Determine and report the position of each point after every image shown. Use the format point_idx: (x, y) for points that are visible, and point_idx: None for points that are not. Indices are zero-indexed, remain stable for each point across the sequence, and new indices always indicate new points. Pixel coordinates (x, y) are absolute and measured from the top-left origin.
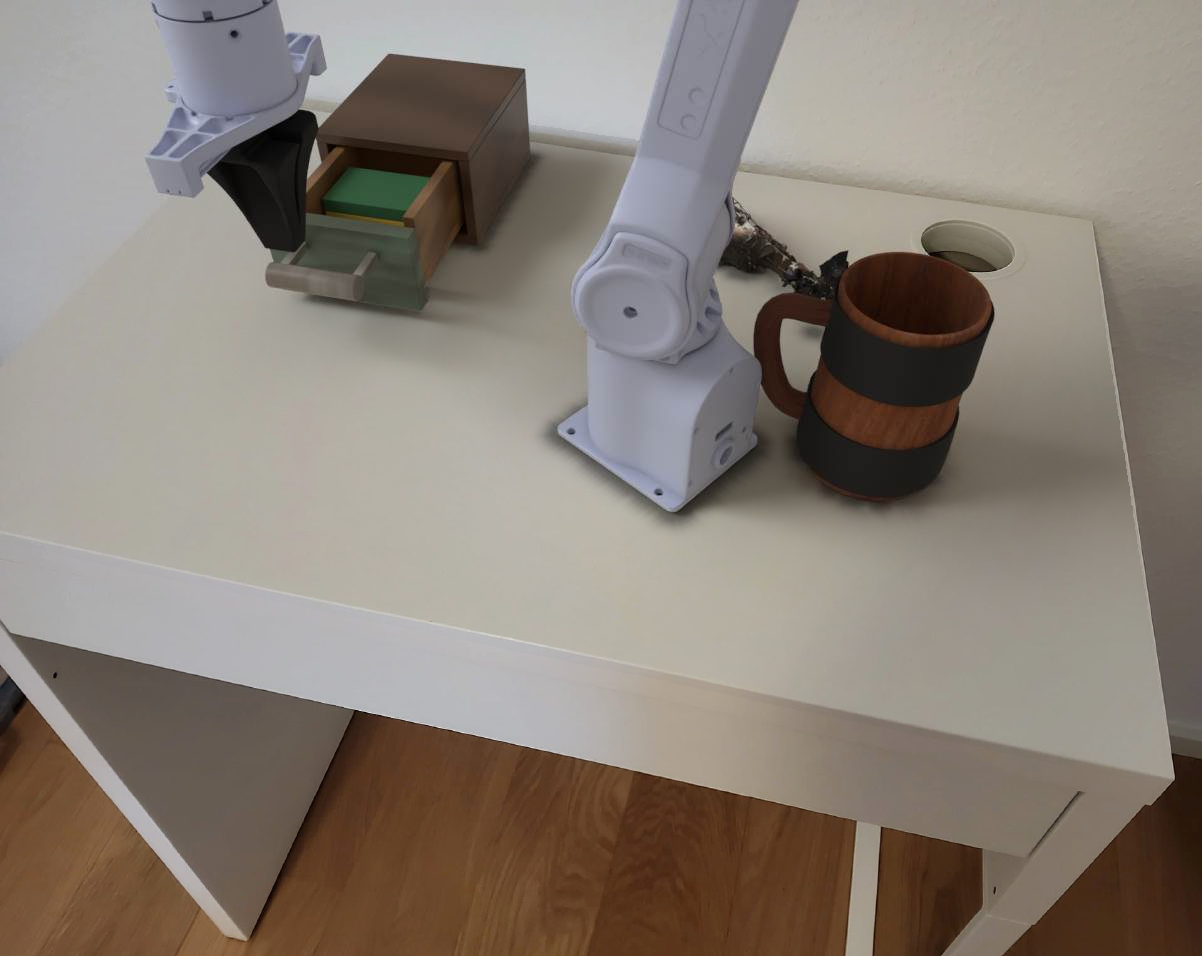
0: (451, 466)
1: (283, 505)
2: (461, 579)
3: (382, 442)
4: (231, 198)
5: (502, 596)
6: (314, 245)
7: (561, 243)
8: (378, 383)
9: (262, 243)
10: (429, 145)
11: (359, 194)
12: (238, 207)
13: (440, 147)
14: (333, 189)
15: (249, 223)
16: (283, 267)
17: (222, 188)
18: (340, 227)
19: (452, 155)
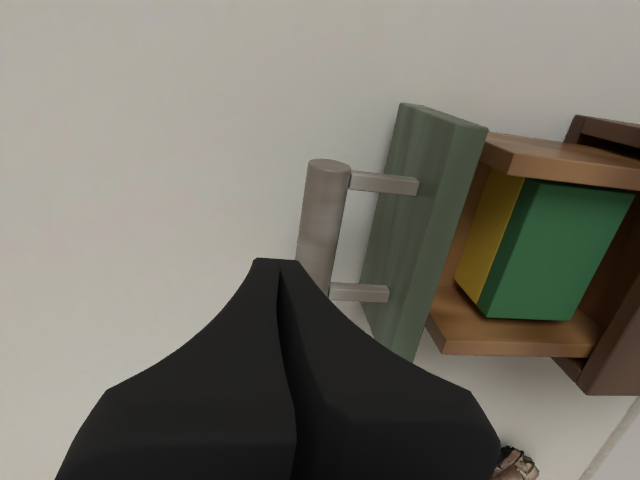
0: (137, 364)
1: (16, 236)
2: (6, 404)
3: (149, 300)
4: (216, 316)
5: (5, 432)
6: (411, 207)
7: (492, 370)
8: (241, 269)
9: (252, 263)
10: (619, 347)
11: (543, 238)
12: (229, 301)
13: (608, 362)
14: (566, 193)
15: (244, 280)
16: (325, 199)
17: (195, 335)
18: (414, 276)
19: (590, 370)
